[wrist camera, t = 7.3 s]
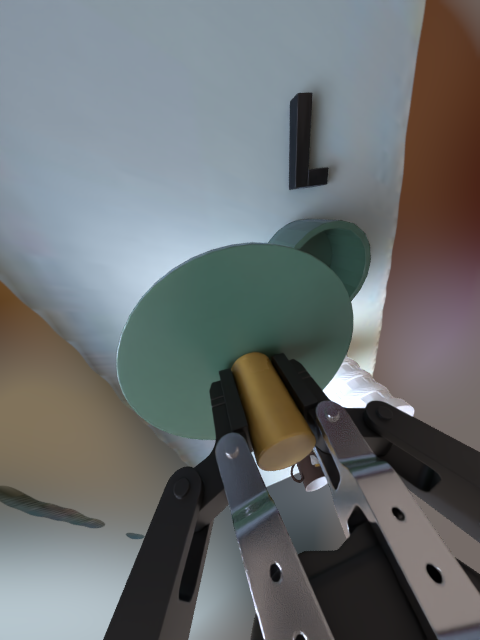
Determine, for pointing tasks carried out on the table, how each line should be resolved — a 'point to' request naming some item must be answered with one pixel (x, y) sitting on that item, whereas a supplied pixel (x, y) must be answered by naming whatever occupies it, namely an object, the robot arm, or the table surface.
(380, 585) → the robot arm
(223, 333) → the tin lid
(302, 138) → the hex key
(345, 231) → the tin
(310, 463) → the coffee mug
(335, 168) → the table surface
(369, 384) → the decorative container
